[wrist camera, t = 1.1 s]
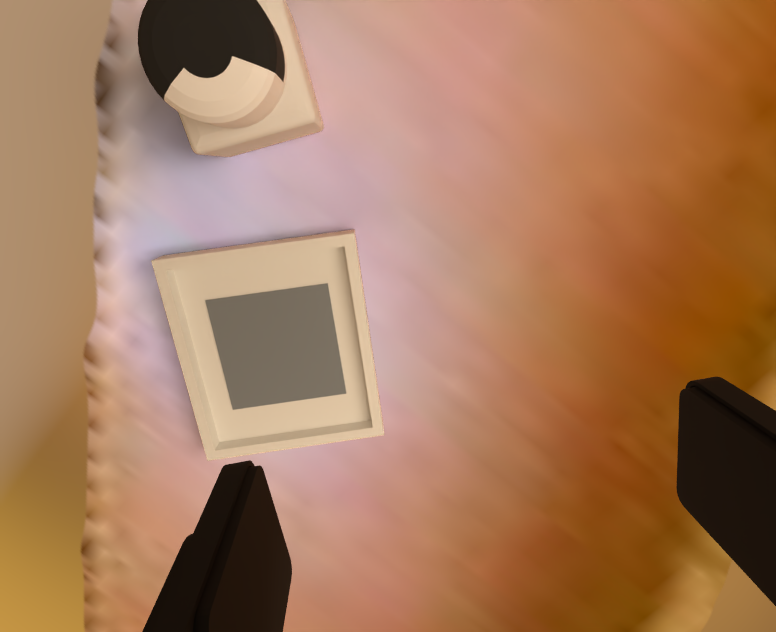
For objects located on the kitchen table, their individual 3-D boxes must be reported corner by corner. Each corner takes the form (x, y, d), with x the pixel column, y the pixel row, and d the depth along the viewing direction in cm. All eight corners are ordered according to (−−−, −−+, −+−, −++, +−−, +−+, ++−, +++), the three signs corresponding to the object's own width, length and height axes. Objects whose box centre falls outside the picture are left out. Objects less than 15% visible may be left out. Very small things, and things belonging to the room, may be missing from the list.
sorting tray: (163, 255, 35) (151, 260, 33) (354, 229, 35) (354, 233, 33) (215, 445, 40) (207, 460, 37) (382, 420, 40) (384, 435, 38)
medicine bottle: (186, 46, 31) (87, -25, 20) (292, 16, 31) (254, -74, 19) (226, 158, 33) (157, 153, 22) (325, 130, 33) (308, 110, 22)
